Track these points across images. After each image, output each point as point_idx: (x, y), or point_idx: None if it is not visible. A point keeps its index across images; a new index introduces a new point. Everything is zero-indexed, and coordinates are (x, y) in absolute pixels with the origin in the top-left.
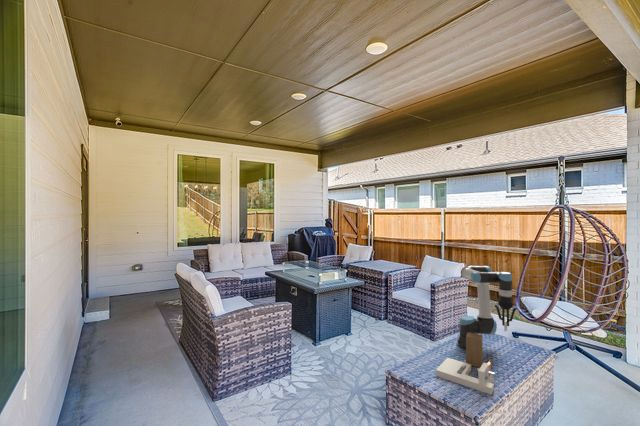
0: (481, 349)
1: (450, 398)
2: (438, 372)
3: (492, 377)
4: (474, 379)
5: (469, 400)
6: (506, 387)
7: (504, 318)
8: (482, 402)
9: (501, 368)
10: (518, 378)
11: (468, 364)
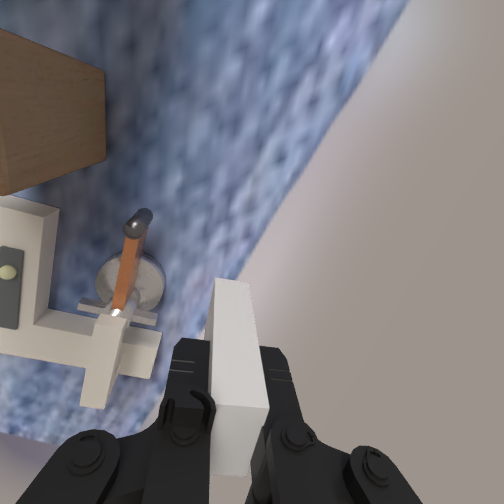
0: (55, 177)
1: (30, 423)
2: None
3: (155, 284)
4: (82, 347)
5: (88, 411)
6: (209, 297)
7: (204, 474)
8: (127, 406)
9: (207, 124)
10: (270, 205)
11: (29, 220)
